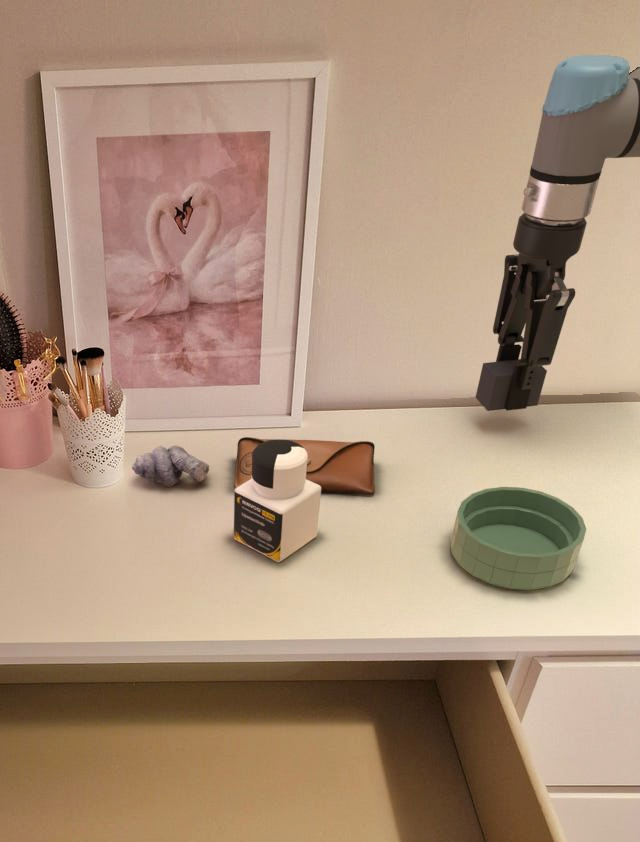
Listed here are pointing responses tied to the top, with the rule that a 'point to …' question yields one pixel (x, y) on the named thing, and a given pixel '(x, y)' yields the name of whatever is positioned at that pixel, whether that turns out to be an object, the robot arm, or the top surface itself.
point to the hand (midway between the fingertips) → (507, 399)
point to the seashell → (169, 466)
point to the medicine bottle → (277, 501)
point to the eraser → (504, 384)
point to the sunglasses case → (322, 464)
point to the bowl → (517, 537)
